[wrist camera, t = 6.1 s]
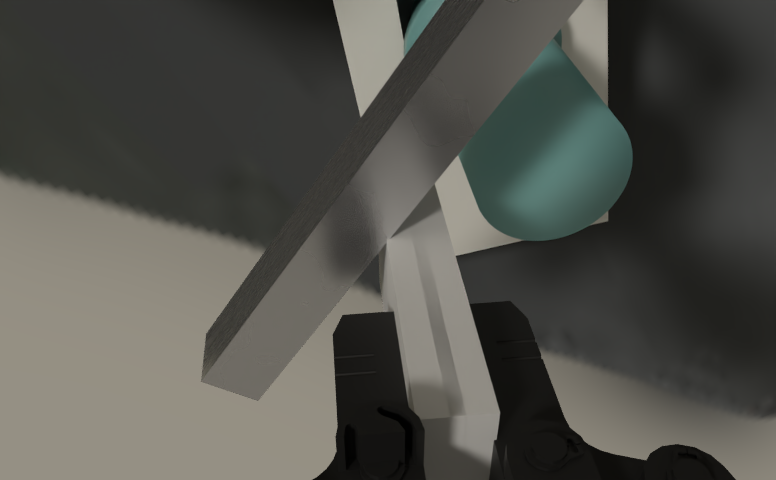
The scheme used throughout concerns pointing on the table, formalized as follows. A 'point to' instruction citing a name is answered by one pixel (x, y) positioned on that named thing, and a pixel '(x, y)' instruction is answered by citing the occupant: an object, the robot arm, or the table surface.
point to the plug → (542, 148)
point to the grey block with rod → (386, 50)
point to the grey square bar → (377, 181)
